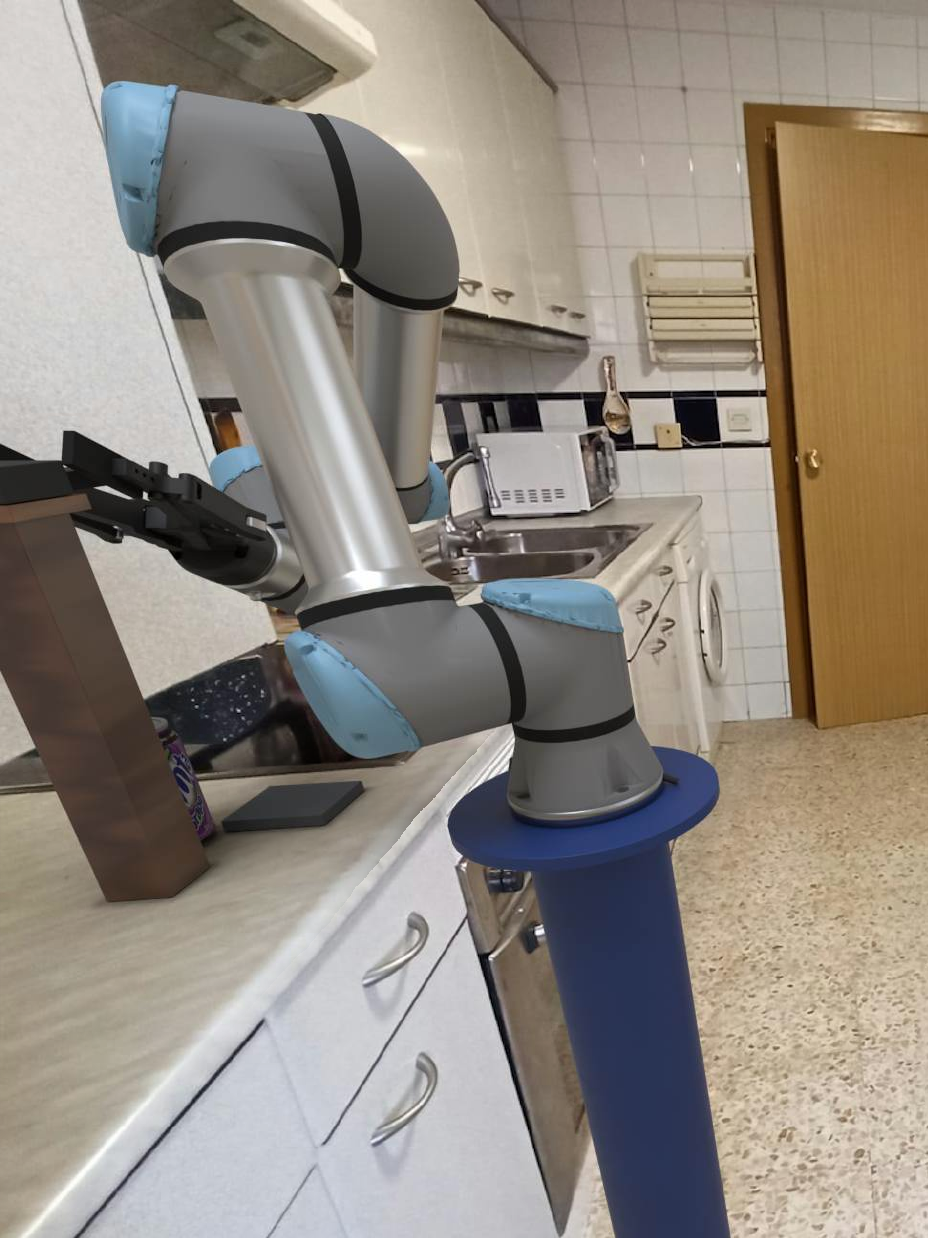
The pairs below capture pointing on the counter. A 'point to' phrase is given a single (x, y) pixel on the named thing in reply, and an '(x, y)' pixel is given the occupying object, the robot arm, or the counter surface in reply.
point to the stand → (88, 708)
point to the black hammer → (39, 480)
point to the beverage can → (185, 778)
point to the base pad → (293, 806)
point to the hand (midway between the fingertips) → (18, 447)
